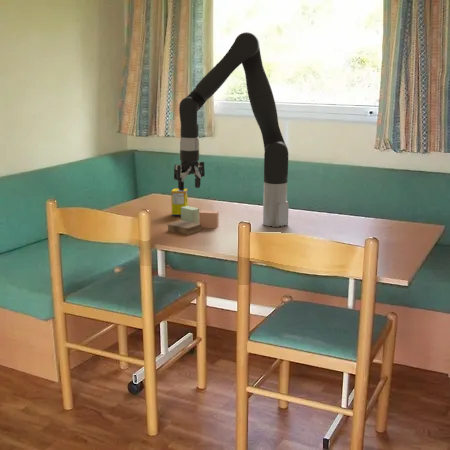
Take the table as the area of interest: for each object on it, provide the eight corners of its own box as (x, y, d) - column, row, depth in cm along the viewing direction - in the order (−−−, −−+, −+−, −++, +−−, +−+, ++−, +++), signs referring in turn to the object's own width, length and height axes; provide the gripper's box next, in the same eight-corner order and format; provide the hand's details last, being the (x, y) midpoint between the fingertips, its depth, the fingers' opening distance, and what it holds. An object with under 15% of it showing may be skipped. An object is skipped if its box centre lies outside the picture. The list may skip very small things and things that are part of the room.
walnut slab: (201, 231, 245) (201, 223, 245) (188, 236, 239) (188, 228, 238) (181, 227, 251) (181, 220, 250) (168, 231, 245) (167, 224, 244)
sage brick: (199, 223, 256) (199, 208, 255) (192, 224, 254) (192, 210, 252) (187, 220, 261) (187, 205, 259) (181, 221, 258) (180, 207, 257)
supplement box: (187, 213, 271) (187, 188, 269) (185, 216, 266) (185, 191, 263) (174, 213, 272) (173, 187, 269) (171, 216, 266) (171, 190, 263)
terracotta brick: (218, 225, 252) (218, 211, 251) (216, 228, 249) (216, 213, 247) (201, 225, 253) (201, 210, 252) (199, 227, 250) (199, 212, 249)
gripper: (182, 151, 242) (182, 193, 246) (209, 148, 252) (208, 188, 256) (169, 149, 247) (169, 190, 251) (196, 145, 257) (196, 185, 261)
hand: (189, 189), depth 254 cm, fingers open, 8 cm apart
